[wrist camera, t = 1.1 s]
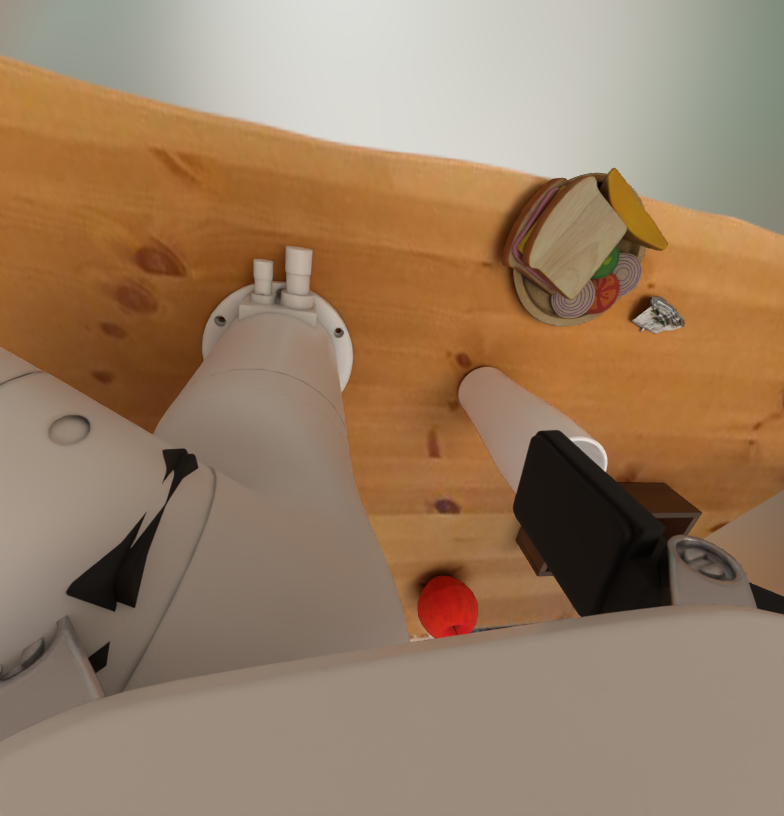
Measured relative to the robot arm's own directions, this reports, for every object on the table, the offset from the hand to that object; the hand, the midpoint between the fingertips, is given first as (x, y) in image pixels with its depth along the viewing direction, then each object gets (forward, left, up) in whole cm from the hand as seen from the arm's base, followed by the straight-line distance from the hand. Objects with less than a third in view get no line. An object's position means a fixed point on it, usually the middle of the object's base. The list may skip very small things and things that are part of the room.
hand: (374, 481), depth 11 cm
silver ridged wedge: (-3, +33, -24) cm, 41 cm away
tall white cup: (+7, +16, -25) cm, 30 cm away
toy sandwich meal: (-6, +20, -25) cm, 33 cm away
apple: (+37, +18, -25) cm, 48 cm away
